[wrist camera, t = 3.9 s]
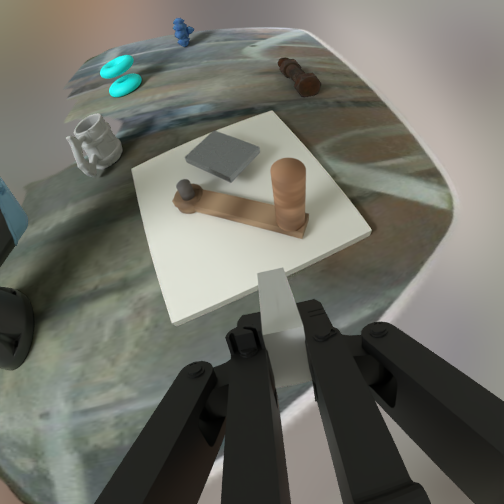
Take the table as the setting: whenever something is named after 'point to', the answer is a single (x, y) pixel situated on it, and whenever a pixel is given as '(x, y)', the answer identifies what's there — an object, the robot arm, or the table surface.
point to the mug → (94, 144)
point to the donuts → (125, 82)
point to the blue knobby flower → (182, 31)
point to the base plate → (233, 233)
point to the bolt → (299, 77)
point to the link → (254, 212)
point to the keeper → (222, 155)
